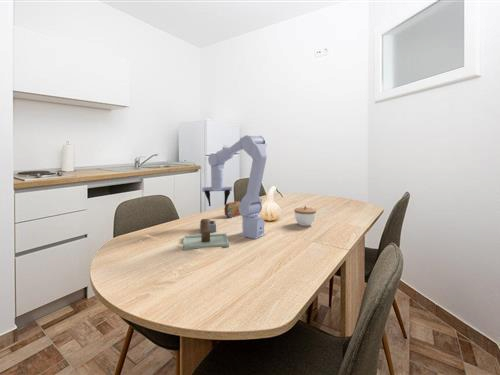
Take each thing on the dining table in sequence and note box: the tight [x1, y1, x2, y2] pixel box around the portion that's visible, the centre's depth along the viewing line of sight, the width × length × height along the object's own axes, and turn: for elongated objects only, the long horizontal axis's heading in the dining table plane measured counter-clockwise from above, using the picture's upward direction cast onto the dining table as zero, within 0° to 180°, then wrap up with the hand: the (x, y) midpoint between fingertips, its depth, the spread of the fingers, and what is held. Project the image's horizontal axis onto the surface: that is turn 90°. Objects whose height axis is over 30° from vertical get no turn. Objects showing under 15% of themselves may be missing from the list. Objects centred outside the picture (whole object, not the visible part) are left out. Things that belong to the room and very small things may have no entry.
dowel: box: [200, 218, 211, 242], centre depth 118 cm, size 4×4×9 cm
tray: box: [182, 233, 230, 251], centre depth 118 cm, size 18×13×2 cm
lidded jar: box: [294, 206, 317, 227], centre depth 145 cm, size 11×11×9 cm
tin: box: [223, 200, 242, 219], centre depth 164 cm, size 15×3×8 cm, turn 143°
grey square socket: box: [199, 220, 217, 234], centre depth 134 cm, size 7×7×4 cm
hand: (217, 205), depth 142 cm, fingers open, 7 cm apart
